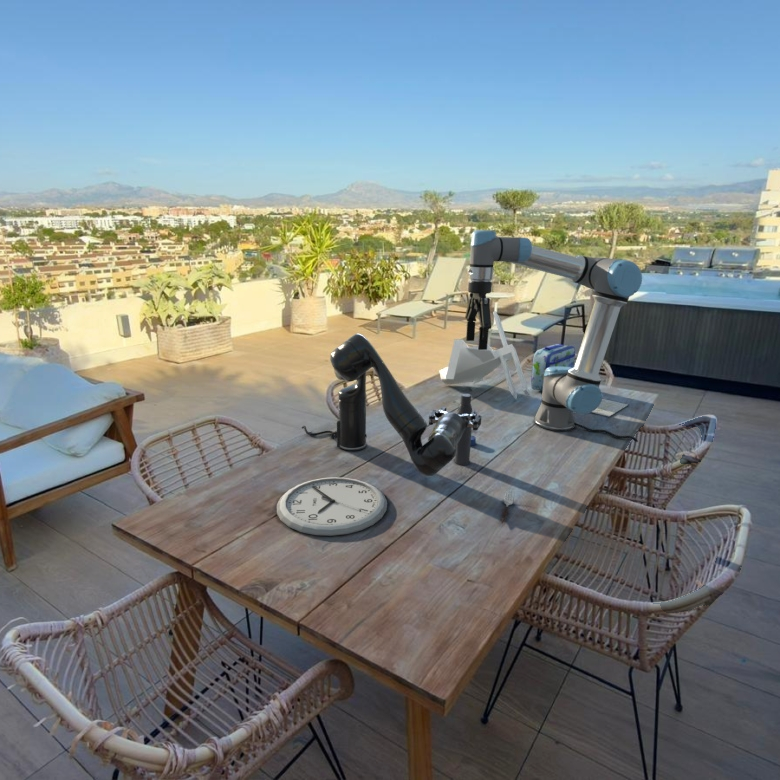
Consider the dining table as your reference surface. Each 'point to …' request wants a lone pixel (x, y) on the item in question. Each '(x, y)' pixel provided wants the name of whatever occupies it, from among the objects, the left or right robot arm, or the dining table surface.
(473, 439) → the cap
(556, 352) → the lunch box
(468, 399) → the bottle
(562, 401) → the right robot arm
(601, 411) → the invitation card
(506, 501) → the fork
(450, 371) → the white plastic object
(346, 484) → the wall clock
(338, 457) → the dining table surface
